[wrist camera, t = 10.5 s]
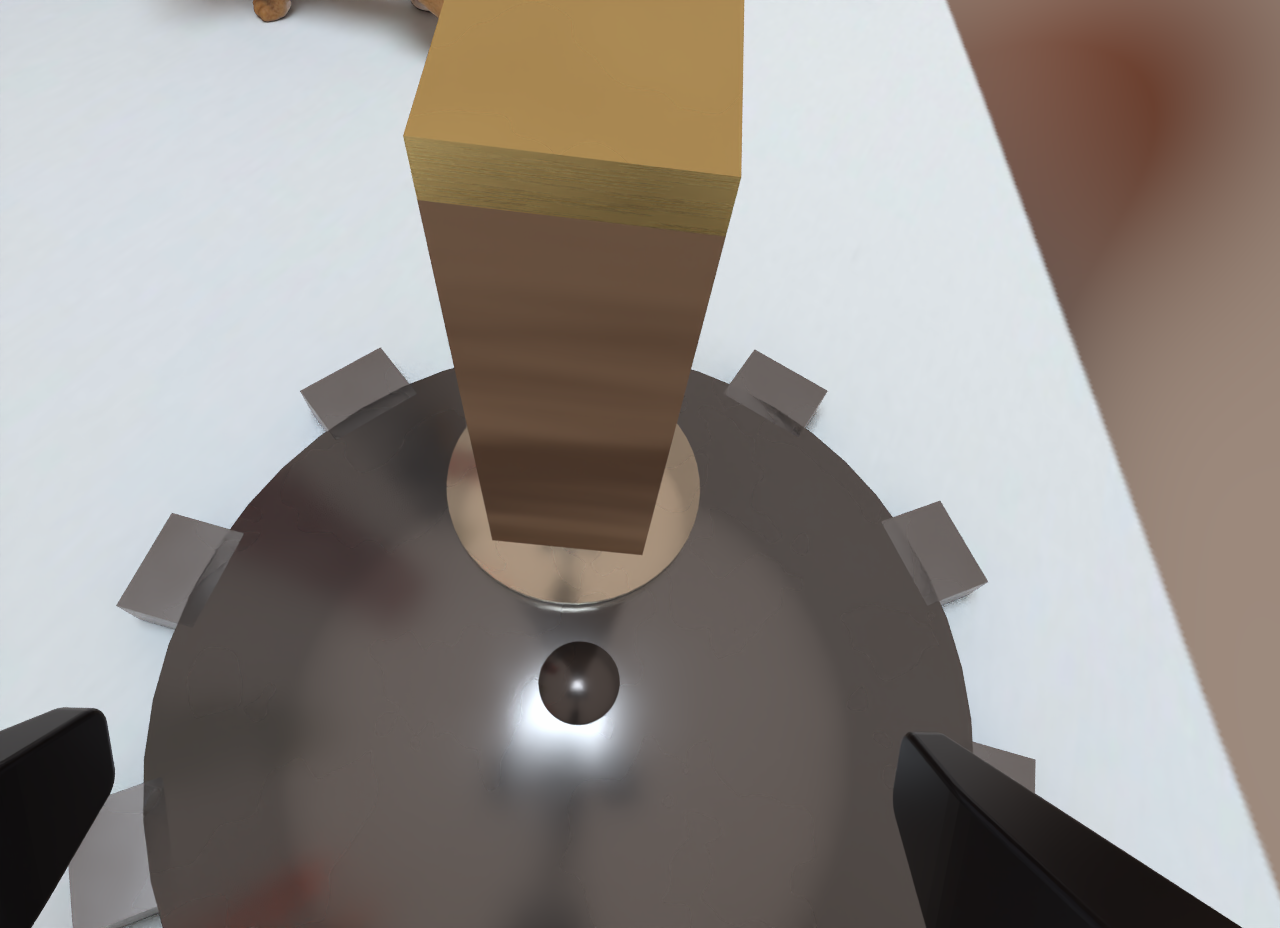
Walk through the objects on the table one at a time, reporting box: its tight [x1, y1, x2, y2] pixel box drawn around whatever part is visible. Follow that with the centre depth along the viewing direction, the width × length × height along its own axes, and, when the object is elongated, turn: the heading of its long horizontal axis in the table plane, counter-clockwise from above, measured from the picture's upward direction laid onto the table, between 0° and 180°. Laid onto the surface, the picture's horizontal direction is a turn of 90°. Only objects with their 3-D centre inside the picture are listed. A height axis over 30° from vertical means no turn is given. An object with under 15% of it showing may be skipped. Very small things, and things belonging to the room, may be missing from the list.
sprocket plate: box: [69, 348, 1035, 928], centre depth 20 cm, size 23×23×1 cm
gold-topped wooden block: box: [403, 0, 744, 555], centre depth 16 cm, size 4×4×13 cm
